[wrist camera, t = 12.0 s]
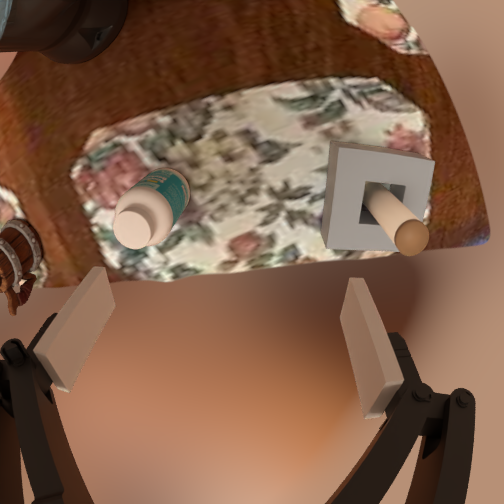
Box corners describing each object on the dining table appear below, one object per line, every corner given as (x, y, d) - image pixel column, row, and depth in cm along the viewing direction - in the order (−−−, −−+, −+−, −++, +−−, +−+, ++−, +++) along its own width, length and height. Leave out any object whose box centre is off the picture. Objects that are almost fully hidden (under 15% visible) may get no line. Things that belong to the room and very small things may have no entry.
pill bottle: (176, 157, 40) (141, 187, 29) (200, 201, 43) (176, 246, 32) (135, 180, 42) (91, 216, 30) (158, 221, 45) (125, 268, 34)
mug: (24, 204, 44) (-20, 255, 32) (62, 259, 52) (31, 315, 41) (-3, 223, 46) (-41, 270, 34) (32, 271, 55) (4, 321, 43)
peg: (360, 178, 41) (401, 220, 28) (385, 181, 40) (432, 223, 27) (356, 204, 43) (393, 255, 30) (381, 206, 42) (423, 256, 29)
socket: (330, 140, 38) (338, 147, 34) (418, 153, 38) (434, 161, 34) (320, 232, 45) (326, 248, 41) (402, 237, 45) (414, 252, 40)
